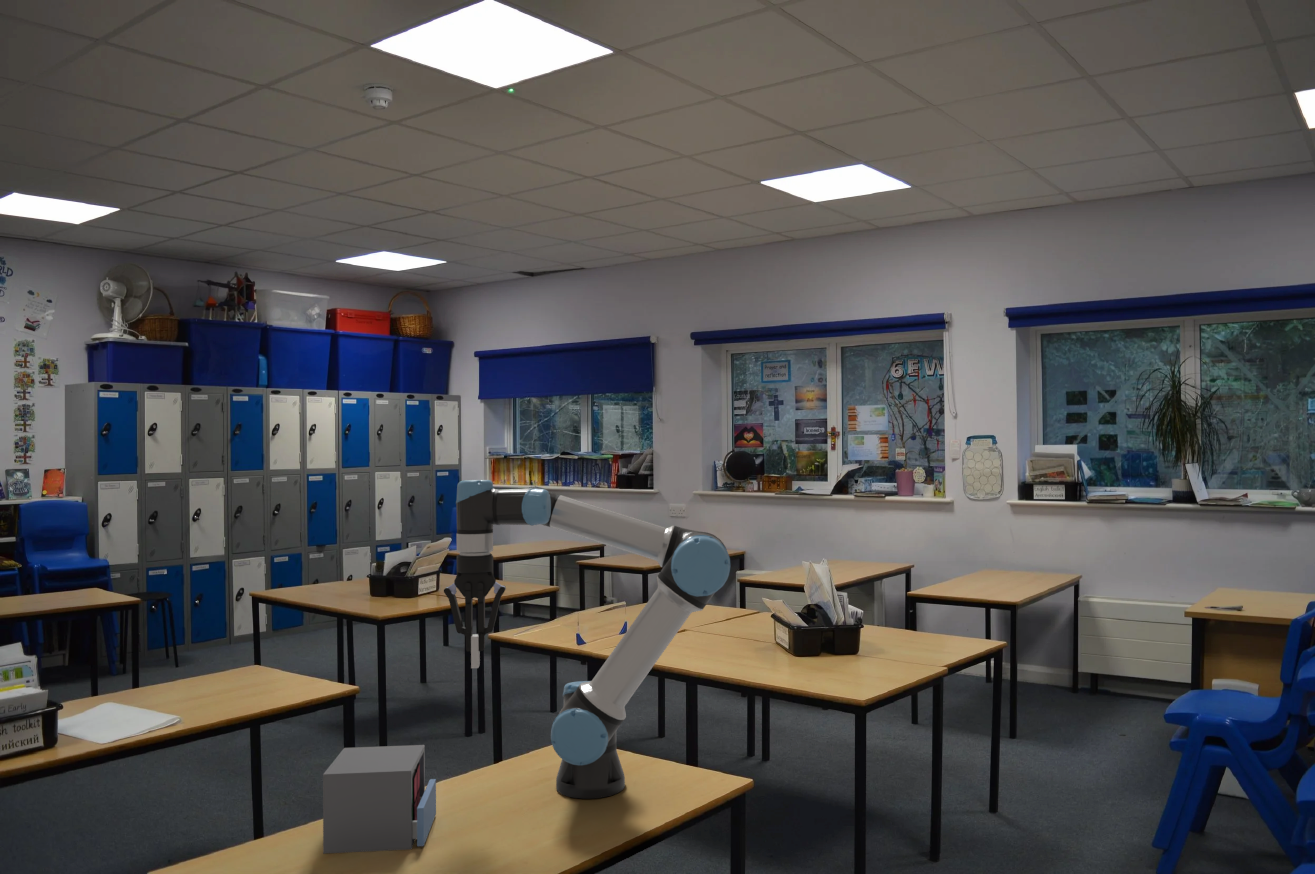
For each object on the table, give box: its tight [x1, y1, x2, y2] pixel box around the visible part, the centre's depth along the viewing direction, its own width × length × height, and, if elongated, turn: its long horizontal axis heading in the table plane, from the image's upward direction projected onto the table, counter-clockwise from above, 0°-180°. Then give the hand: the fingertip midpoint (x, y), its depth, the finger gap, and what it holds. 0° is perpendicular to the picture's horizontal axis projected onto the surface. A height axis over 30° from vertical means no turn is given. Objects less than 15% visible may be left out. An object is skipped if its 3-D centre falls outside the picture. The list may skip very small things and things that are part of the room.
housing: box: [322, 744, 426, 854], centre depth 180 cm, size 16×16×14 cm
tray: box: [412, 778, 437, 847], centre depth 180 cm, size 16×16×7 cm
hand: (475, 666), depth 193 cm, fingers closed
